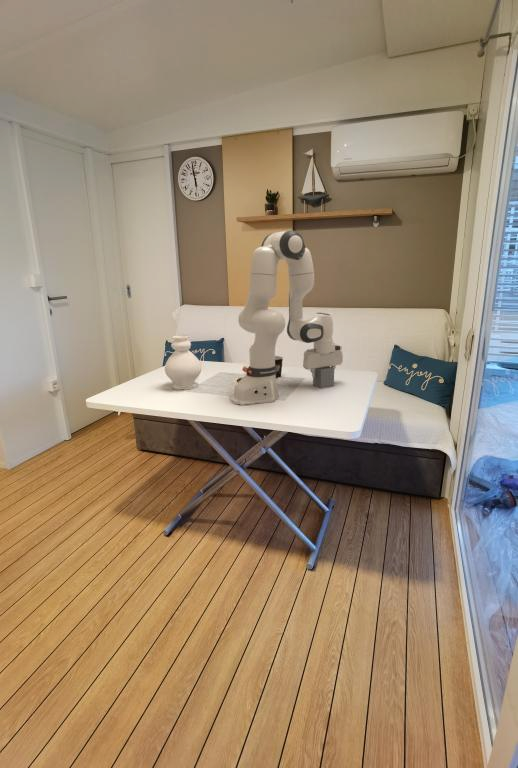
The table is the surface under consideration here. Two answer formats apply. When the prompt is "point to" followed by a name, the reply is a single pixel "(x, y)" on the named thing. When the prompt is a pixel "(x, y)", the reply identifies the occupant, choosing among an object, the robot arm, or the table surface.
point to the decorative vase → (182, 364)
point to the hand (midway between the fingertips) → (322, 375)
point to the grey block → (324, 377)
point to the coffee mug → (278, 365)
